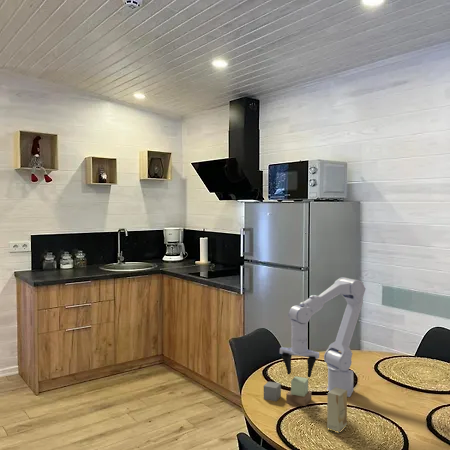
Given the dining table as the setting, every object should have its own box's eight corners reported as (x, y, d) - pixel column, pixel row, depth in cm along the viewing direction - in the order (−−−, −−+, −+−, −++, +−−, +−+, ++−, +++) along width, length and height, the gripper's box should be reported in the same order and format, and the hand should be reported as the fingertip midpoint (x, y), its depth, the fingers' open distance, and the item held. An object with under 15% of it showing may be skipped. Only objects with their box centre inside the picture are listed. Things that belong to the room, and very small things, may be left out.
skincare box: (339, 434, 143) (339, 396, 143) (326, 430, 146) (326, 392, 146) (347, 426, 149) (347, 389, 148) (334, 422, 151) (335, 386, 151)
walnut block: (311, 400, 169) (311, 391, 169) (304, 407, 163) (304, 398, 163) (293, 396, 173) (293, 387, 173) (286, 403, 167) (286, 394, 167)
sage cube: (308, 391, 169) (308, 378, 169) (304, 396, 165) (304, 383, 164) (295, 389, 171) (295, 376, 171) (291, 394, 167) (291, 380, 166)
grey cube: (280, 396, 173) (280, 383, 172) (276, 401, 168) (276, 388, 168) (268, 394, 175) (268, 381, 175) (263, 399, 170) (263, 386, 170)
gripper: (277, 339, 168) (277, 375, 168) (316, 343, 162) (316, 381, 162) (282, 334, 174) (283, 369, 175) (320, 338, 168) (320, 375, 169)
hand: (299, 375), depth 169 cm, fingers open, 7 cm apart
